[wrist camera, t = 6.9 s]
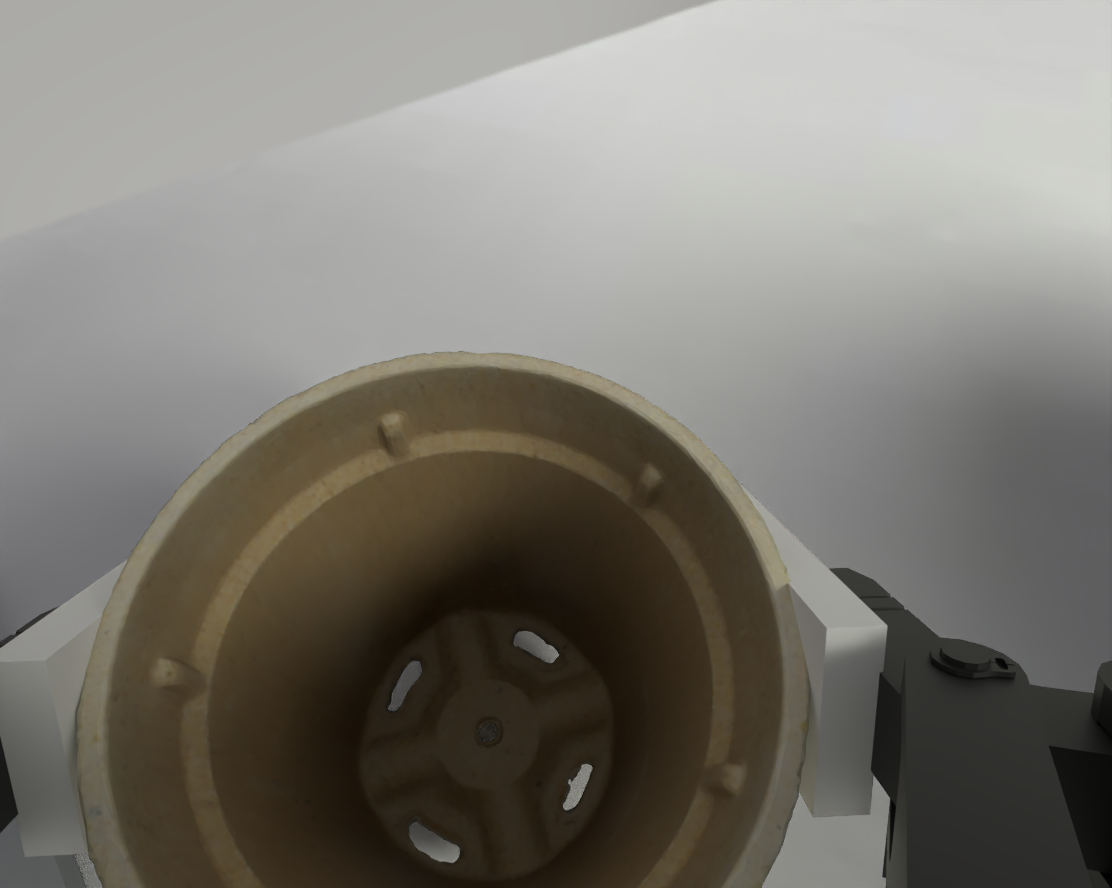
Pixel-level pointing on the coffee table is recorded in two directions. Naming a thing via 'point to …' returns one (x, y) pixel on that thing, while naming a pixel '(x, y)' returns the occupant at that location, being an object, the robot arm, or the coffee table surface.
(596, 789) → the flower pot
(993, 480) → the coffee table surface
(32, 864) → the charcoal mat
